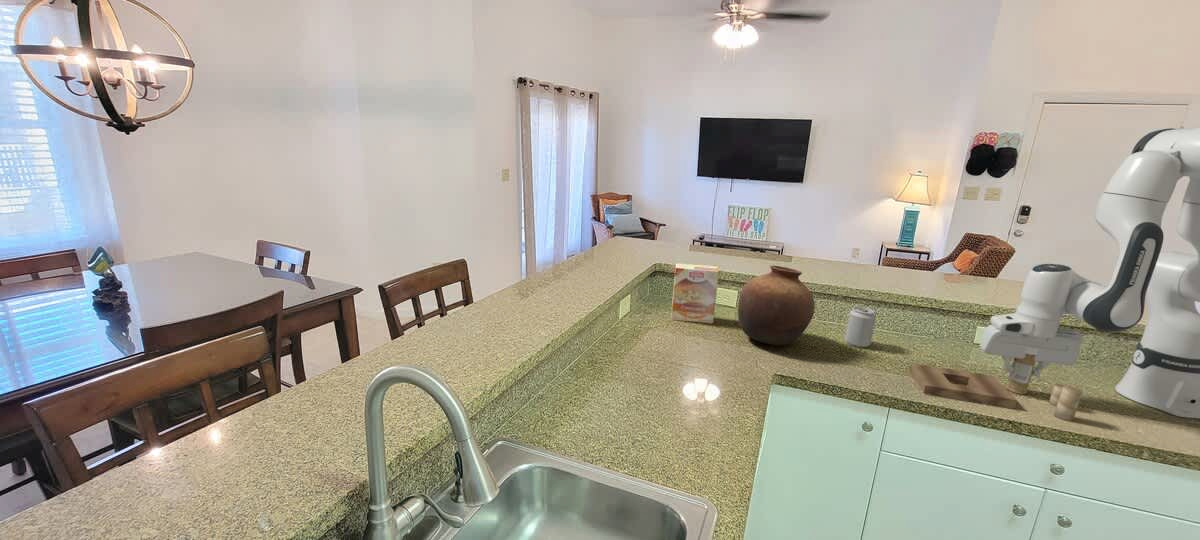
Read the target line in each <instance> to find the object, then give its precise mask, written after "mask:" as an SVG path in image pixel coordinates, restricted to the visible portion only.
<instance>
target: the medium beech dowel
mask: <svg viewBox="0 0 1200 540" xmlns="http://www.w3.org/2000/svg"><path fill="white" fill-rule="evenodd" d="M1082 394H1083V391H1081V390H1080V389H1078V388H1076V387H1073V386H1066V385H1064V387H1063V388H1062V391H1061V395H1060V398H1059V401H1058V404H1057V407H1055V408H1056V409H1055V411H1054V417H1056V418H1057V419H1059V420H1063V421H1066V422H1073V421H1074V419H1075V417H1076V412H1077V409H1078V406H1079V403H1080V401H1081V398H1082Z"/></svg>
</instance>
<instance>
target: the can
mask: <svg viewBox="0 0 1200 540" xmlns="http://www.w3.org/2000/svg"><path fill="white" fill-rule="evenodd" d="M876 319H877V315H875V310H873V309H871V308H869V307H866V306H865V307H864V306H853V307H852V310H850V311H849V315H848V321H847V327H846V332H845V337H844V340H845V341H846V343H847V344H849V345H850V346H852V347H856V348H863V349H864V348H867V347H869V346H870V345H871V344H872V339H873V335H874V329H875V324H876Z"/></svg>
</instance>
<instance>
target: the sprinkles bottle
mask: <svg viewBox="0 0 1200 540" xmlns="http://www.w3.org/2000/svg"><path fill="white" fill-rule="evenodd" d="M1038 350H1039V349H1038V348H1032V347H1026V349H1025V353H1026V354H1025V355H1026V356H1025V358H1024V359H1020V358H1013V361H1012V364H1011V365H1012V366H1014V370H1013V373H1011V372H1009V374H1008V379H1007V382H1006V386H1005V388H1006V389H1007V390H1008V391H1009V392H1010V393H1011V392H1012V393H1014V394H1018V395H1026V394H1027V393H1028V388H1029V385H1030V383H1031V380H1032V377H1033V376H1032V373H1033V369H1034V368H1035V365H1036V361H1035V360H1034V358H1035V355H1037V354H1038Z"/></svg>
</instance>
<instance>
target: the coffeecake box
mask: <svg viewBox="0 0 1200 540" xmlns="http://www.w3.org/2000/svg"><path fill="white" fill-rule="evenodd" d="M674 268H675V269H674V279H673V281H674V282H673V292H672V303H671V315H670V318H671V319H670V320H671V321H681V322H682V321H684V322H691V323H693V322H694V323H703V324H714V318H715V309H716V300H717V290H718V283H719V274H720V272H719V271H720V270H719V266H714V265H705V264H703V265H700V264H693V263H691V264H689V263H678V262H677V263H675V267H674Z"/></svg>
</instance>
